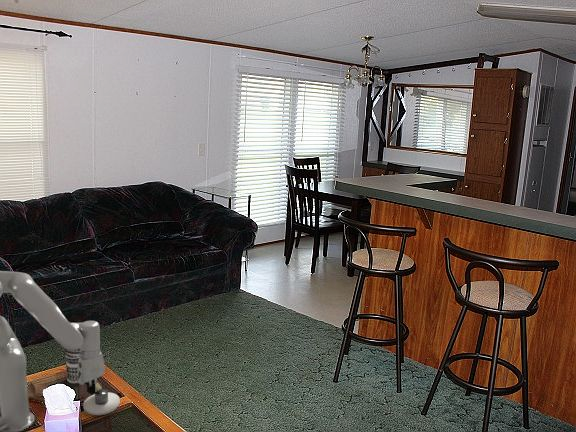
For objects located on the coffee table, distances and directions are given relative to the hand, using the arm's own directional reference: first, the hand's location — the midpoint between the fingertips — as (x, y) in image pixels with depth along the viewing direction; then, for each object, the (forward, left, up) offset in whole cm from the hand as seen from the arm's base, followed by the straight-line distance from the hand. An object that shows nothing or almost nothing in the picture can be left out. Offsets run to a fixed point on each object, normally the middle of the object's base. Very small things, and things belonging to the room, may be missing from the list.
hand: (91, 392), depth 223 cm
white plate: (0, -5, -4) cm, 7 cm away
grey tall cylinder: (+12, +18, -5) cm, 22 cm away
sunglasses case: (-6, +20, -5) cm, 22 cm away
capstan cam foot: (+1, -3, -3) cm, 4 cm away
